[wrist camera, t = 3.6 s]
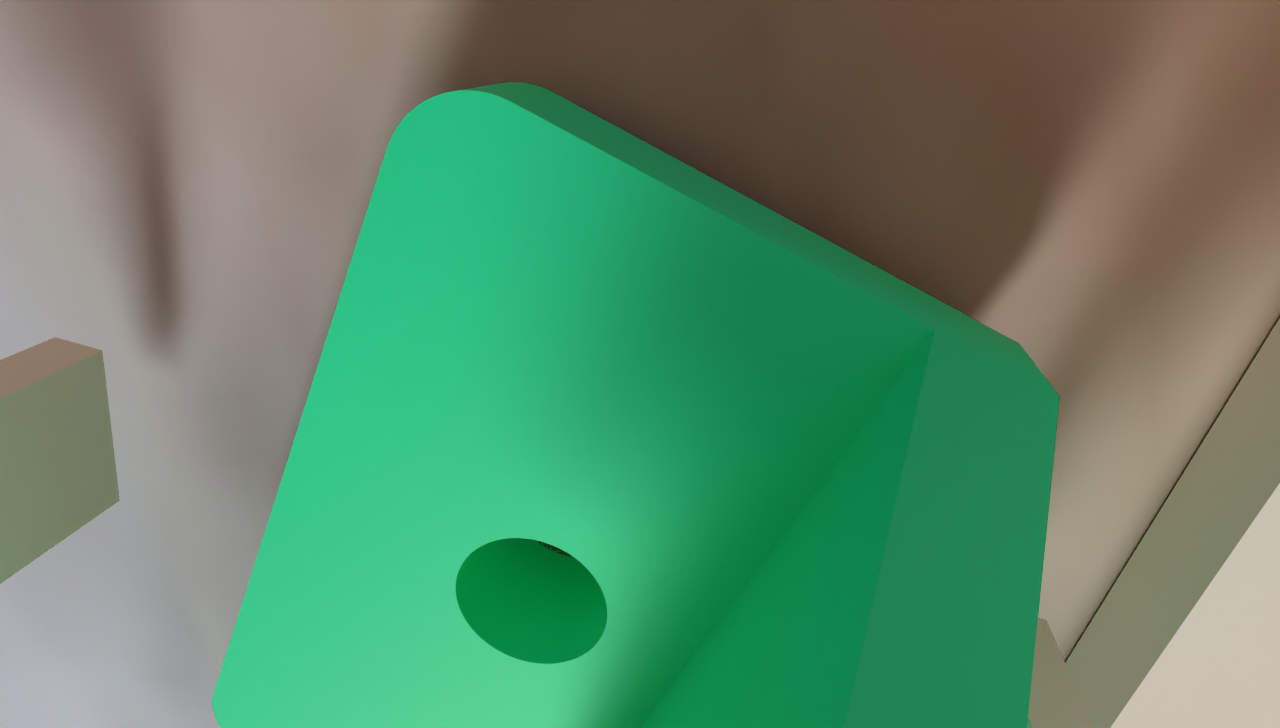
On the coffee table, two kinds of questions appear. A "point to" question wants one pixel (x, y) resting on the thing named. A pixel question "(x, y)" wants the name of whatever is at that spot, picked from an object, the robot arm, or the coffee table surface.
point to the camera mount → (638, 462)
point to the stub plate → (1200, 586)
